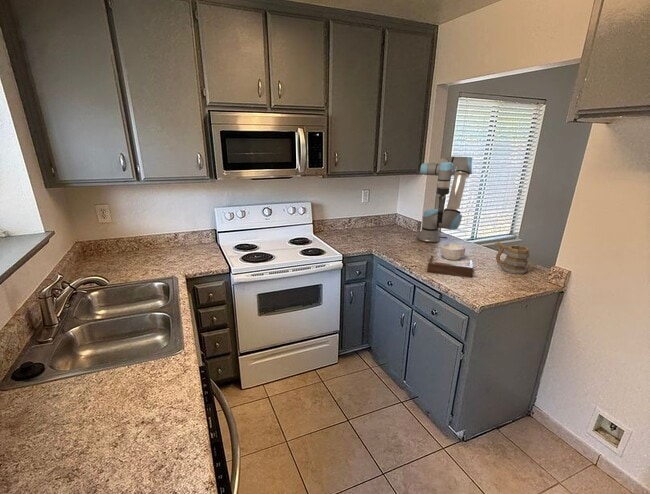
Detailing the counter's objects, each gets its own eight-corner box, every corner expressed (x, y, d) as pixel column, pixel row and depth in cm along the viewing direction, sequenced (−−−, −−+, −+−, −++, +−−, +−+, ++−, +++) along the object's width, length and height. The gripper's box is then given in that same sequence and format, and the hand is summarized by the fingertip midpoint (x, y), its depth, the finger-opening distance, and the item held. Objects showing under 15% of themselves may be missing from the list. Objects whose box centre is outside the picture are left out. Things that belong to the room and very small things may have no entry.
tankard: (529, 270, 212) (535, 246, 206) (520, 275, 204) (526, 250, 199) (496, 262, 226) (500, 239, 220) (486, 266, 218) (491, 243, 212)
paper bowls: (442, 252, 243) (443, 241, 240) (465, 256, 236) (467, 245, 233) (436, 259, 230) (438, 247, 227) (461, 263, 223) (463, 251, 220)
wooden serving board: (430, 262, 223) (431, 253, 221) (471, 267, 216) (472, 258, 213) (427, 272, 209) (428, 262, 206) (471, 277, 201) (472, 267, 199)
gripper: (437, 184, 237) (433, 216, 245) (437, 190, 215) (433, 224, 223) (448, 185, 235) (444, 216, 243) (450, 190, 213) (445, 225, 221)
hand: (439, 220), depth 233 cm, fingers open, 13 cm apart
